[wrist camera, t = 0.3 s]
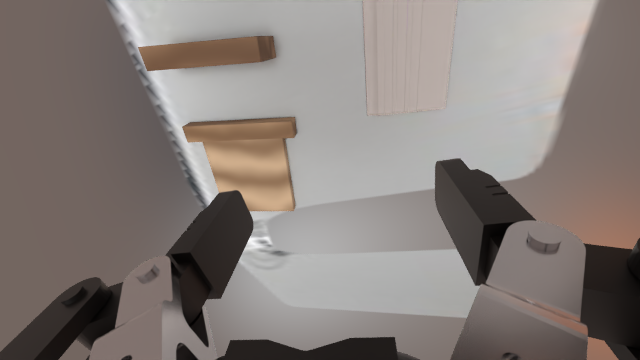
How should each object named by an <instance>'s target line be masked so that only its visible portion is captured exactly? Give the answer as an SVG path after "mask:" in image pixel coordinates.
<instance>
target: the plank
mask: <svg viewBox="0 0 640 360" xmlns="http://www.w3.org/2000/svg"><path fill="white" fill-rule="evenodd" d="M138 48H139V51H140V53H141V56H142V59H143V61H144V64H145V66H146V69H147V71H154V70H167V69H179V68H192V67H204V66H217V65H229V64H242V63H254V62H263V61H266V60H269V59H272V58H276V53H275V47H274V40H273V36H254V37H243V38H232V39H222V40H211V41H200V42H189V43H179V44H168V45H157V46H146V47H138Z"/></svg>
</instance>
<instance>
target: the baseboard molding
mask: <svg viewBox="0 0 640 360" xmlns="http://www.w3.org/2000/svg"><path fill="white" fill-rule="evenodd" d="M457 1H458V0H363V21H364V46H365V72H366V97H367V116H369V115H378V116H380V115H388V114H397V113H408V112H418V111H428V110H437V109H445V107H446V98H447V89H448V80H449V71H450V63H451V54H452V45H453V36H454V28H455V19H456V10H457Z"/></svg>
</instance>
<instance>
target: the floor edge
mask: <svg viewBox="0 0 640 360" xmlns="http://www.w3.org/2000/svg"><path fill="white" fill-rule="evenodd" d="M182 128H183V130H184V133H185V136H186V139H187V141H188V142H203V145H204V148H205V151H206V154H207V157H208V160H209V163H210V166H211V169H212V172H213V175H214V178H215V181H216V184H217V187H218V190H219V193H220V192H226V191H233V190H238V191H239V192H240V193H241V194H242V197H243V199H244V201H245V203H246V205H247V208H248V210H249V211H294V209H295V200H294V194H293V187H292V181H291V174H290V168H289V162H288V155H287V149H286V142H285V138H294V137H295V135H296V133H297V132H296V124H295V117H287V118H267V119H248V120H228V121H209V122H190V123H188V124H186V125H185V126H183V127H182Z"/></svg>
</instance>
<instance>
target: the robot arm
mask: <svg viewBox="0 0 640 360" xmlns="http://www.w3.org/2000/svg"><path fill="white" fill-rule="evenodd" d="M435 201H436V206H437V210H438V212H439V214H440V216H441V218H442V220H443V222H444V224H445V226H446V228H447V230H448V232H449V234H450V236H451V238H452V240H453V242H454V244H455V246H456V248H457V250H458V252H459V254H460V256H461V258H462V260H463V262H464V264H465V266H466V268H467V270H468V272H469V274H470V276H471V278H472V280H473V282H474V284H475V286H479V285H481V286H480V288H479V290H478V292H477V295H476V297H475V300H474V302H473V305H472V307H471V310H470V312H469V314H468V317H467V319H466V322H465V324H464V327H463V329H462V332H461V334H460V337H459V339H458V341H457V344H456V346H455V349H454V351H453V354H452V356H451V359H450V360H587V345H588V337H592V338H596V339H600V340H604V341H605V342H606V344H607V345H608V346H609V347H610V349H611V350H612V351H613V353H614V354H615V355H616V357H617V358H618V359H619V360H640V238H639V239H638V241H637V243H636V245H635V246H634V248H633V250H632V249H624V248H615V247H607V246H599V245H591V244H584V243H583V242H582V241H581V240H580V239H579V238H578V237H577V236H576V235H574V234H573V233H572V232H570V231H568V230H566V229H564V228H562V227H560V226H557V225H554V224H551V223H547V222H542V221H536V220H535V219H534V218H533V217H532V216H531V215H530V214H529V213H528V212H527V211H526V210H525V209H524V208H523V207H522V206H521V205H520V204H519V203H518V202H517V201H516V200H515V199H514V198H513V197H512V196H511V195H510V194H508V192H507V191H506V190H505V189H504V188H503V187H502V186H500V184H499V183H498V182H497V181H496V180H495V179H494V178H493V177H492V176H491V175H489V174H487V173H485V172H483V171H480V170H478V169H476V170H470V169H469V168H468V167H467V166H466V164H465V163H464V162H463V161H462V160H461V159H460V158H457V159H450V160H443V161H437V162H436V166H435ZM252 231H253V219H252V217H251V214H250V212H249V210H248V208H247V205H246V203H245V201H244V199H243V197H242V194H241V193H240V192H239V191H238V190H233V191H226V192H220V193H219V194H218V195H217V196H216V197H215V198H214V200H213V201H212V202H211V203H210V205H209V206H208V207H207V208H206V209H204V210H203V211H202V212H200V213H199V215H198V216H197V217H196V218H195V220H194V221H193V223H191V224H190V226H189V227H188V228H187V231H185V232H184V233H183V234H182V235H181V237H180V238H179V239H178V240H177V242H176V243H175V244H174V246H173V247H172V248H171V249H170V250H169V251H168V253H167V254H166V255H165V256H157V257H154V258H151V259H149V260H147V261H145V262H144V263H142V264H140V265H139V266H137V267H136V268H135V269H134V270H133V271H132V272H131V273H130V274H129V275H128V276H127V277H126V279H125V281H124V282H122V283H119V284H116V285H113V286H110V287H107V286H106V285H105V283H104V282H103V281H102V280H101V279H99V278H97V277H94V278H89V279H86V280H83V281H81V282H79V283H77V284H75V285H74V286H72V287H70V288H69V289H68V290H66V291H65V292H63V293H62V294H61V295H60V296H58V297H57V298H56V299H55V300H54V301H53V302H52V303H51V304H50V305H49V306H48V307H47V308H46V309H45V310H44V311H43V312H42V313H41V314H40V315H39V316H37V317H36V318H35V319H34V320H33V321H32V322H31V323H30V324H29V325H28V326H27V327H26V328H25V329H24V330H23V331H22V332H21V333H20V334H19V335H18V336H17V337H16V338H14V339H13V341H11V342H10V343H9V344H8V345H7V346H6V347H5V348H4V349H3V350H2V351H1V352H0V360H58V359H59V358H60V357H61V356H62V355H63V354H64V352H65V351H66V350H67V349H68V348H69V346H70V345H71V344H72V343H73V342H74V340H75V339H76V340H78V341H79V342H80V343H81V344H83V345H84V346H85V347H87V348H88V349H89V350H90V351H91V353H90V355H89V356H88V358H87V359H86V360H419V359H417V358H415V357H412V356H410V355H408V354H404V353H401V352H397V349H396V342H395V337H380V338H379V337H378V338H349V339H346V340H342V341H339V342H336V343H333V344H329V345H326V346H323V347H319V348H316V349H313V350H309V351H303V350H299V349H295V348H292V347H289V346H286V345H283V344H280V343H276V342H273V341H270V340H230V343H229V346H228V349H227V351H226V354H225V356H222V357H220V358H218V357H217V354H216V350H215V346H214V341H213V336H212V331H211V326H210V322H209V317H208V312H207V309H206V308H205V306H204V303H205V301H206V300H207V299H220V298H221V297H222V295H223V293H224V290H225V288H226V286H227V284H228V282H229V280H230V278H231V276H232V274H233V271H234V269H235V267H236V265H237V263H238V261H239V259H240V257H241V255H242V252H243V250H244V248H245V246H246V244H247V242H248V240H249V238H250V236H251V234H252Z"/></svg>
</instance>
